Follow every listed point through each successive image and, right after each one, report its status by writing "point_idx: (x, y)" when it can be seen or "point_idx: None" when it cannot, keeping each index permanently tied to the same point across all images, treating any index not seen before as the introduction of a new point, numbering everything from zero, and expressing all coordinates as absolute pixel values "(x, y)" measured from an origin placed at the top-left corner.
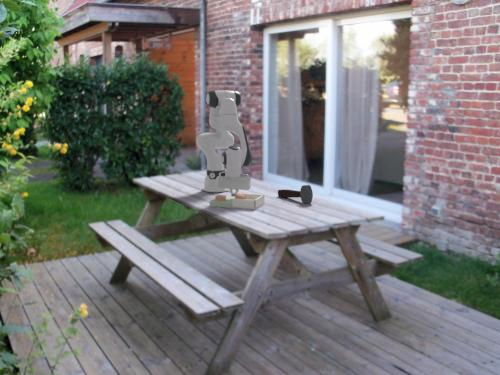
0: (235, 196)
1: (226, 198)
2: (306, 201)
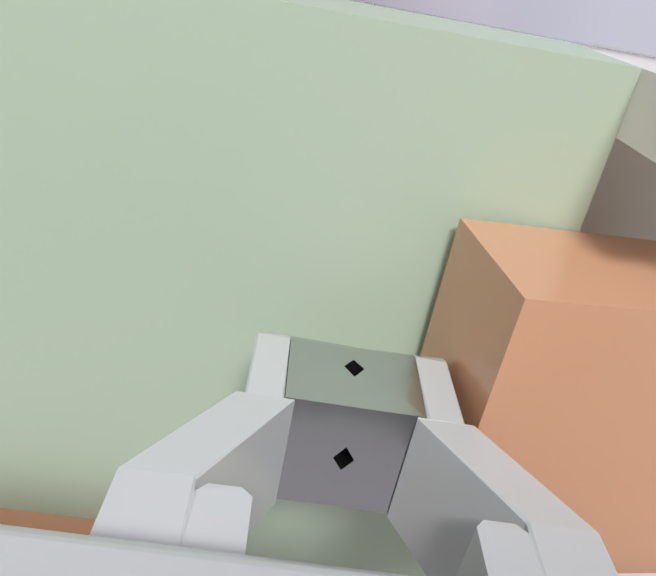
0: None
1: (99, 377)
2: None
